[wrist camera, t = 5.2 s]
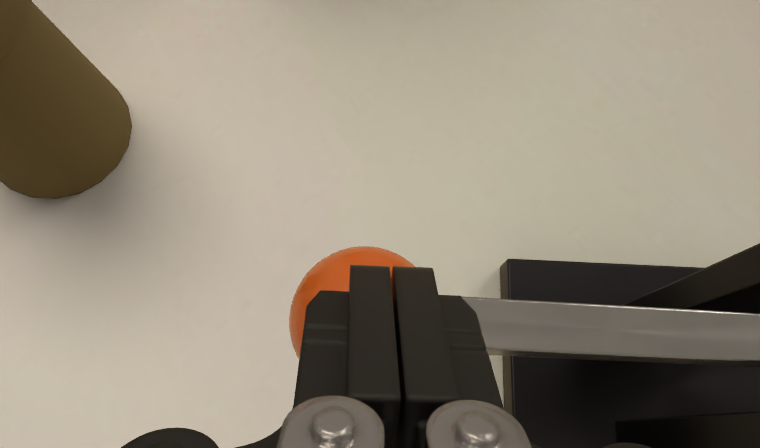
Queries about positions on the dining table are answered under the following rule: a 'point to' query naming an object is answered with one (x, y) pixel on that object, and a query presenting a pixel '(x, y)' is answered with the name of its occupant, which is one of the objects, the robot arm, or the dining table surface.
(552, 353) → the ball knob lever
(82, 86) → the olive brown pawn
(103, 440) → the dining table surface
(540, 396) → the lever switch stand
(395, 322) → the robot arm
